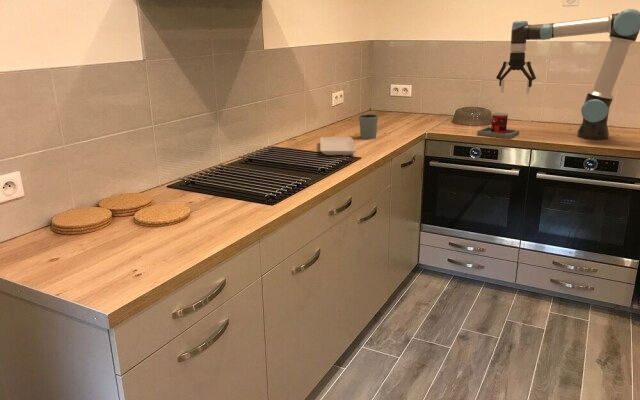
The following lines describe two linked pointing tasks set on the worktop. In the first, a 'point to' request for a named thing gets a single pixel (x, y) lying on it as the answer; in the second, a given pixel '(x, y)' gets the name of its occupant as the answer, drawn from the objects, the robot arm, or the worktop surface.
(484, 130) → the tray
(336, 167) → the worktop surface
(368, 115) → the grey green cup
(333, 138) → the tray
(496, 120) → the canned food
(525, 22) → the robot arm
